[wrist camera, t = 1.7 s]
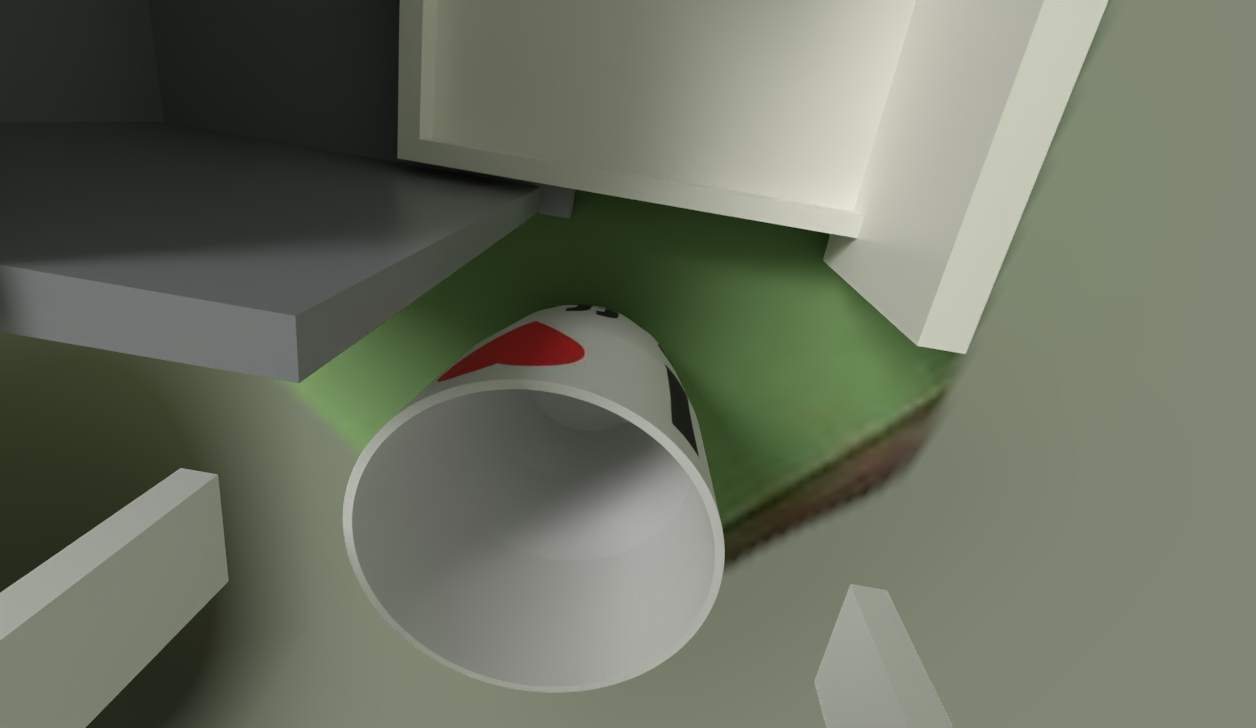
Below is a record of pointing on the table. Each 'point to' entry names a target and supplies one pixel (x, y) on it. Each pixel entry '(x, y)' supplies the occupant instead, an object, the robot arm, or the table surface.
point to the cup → (542, 508)
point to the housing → (223, 181)
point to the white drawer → (769, 120)
